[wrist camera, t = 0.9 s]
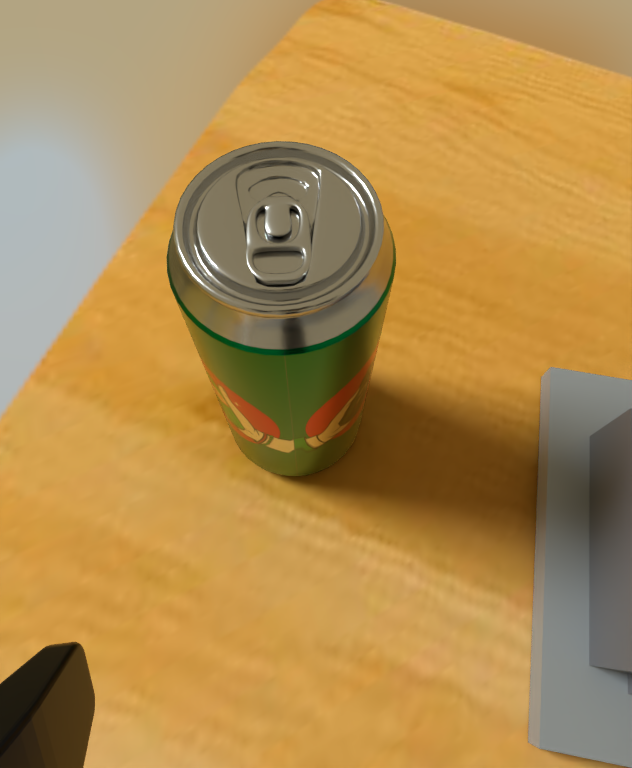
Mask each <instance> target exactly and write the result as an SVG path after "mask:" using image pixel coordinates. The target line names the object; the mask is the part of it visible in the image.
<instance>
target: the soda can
mask: <svg viewBox="0 0 632 768" xmlns="http://www.w3.org/2000/svg"><path fill="white" fill-rule="evenodd" d="M395 266H396V248H395V243H394V239H393V234H392V231H391V229H390V227H389V224H388V222H387V219H386V218H385V216H384V215H383V212H382V207H381V204H380V201H379V199H378V196H377V194H376V192H375V190H374V189H373V187H372V185H371V184H370V182H369V181H368V180H367V179H366V177H365V176H364V175H363V174H362V173H361V172H360V171H359V170H358V169H357V168H356V167H354V166H353V165H352V164H351V163H349V162H348V161H347V160H345V159H343V158H342V157H340V156H338V155H337V154H335V153H332V152H330V151H327V150H325V149H323V148H320V147H316V146H313V145H309V144H304V143H297V142H281V141H275V142H265V143H258V144H254V145H249V146H245V147H242V148H239V149H236V150H234V151H231V152H229V153H227V154H225V155H223V156H221V157H219V158H218V159H216V160H215V161H213V162H212V163H210V164H209V165H207V166H206V167H205V168H204V169H203V170H202V171H200V172H199V173H198V174H197V175H196V176H195V177H194V179H193V180H192V181H191V182H190V184H189V185H188V186H187V188H186V189H185V191H184V193H183V195H182V196H181V198H180V201H179V204H178V206H177V209H176V213H175V219H174V226H173V232H172V235H171V238H170V240H169V245H168V252H167V273H168V277H169V282H170V286H171V289H172V292H173V294H174V296H175V299H176V301H177V303H178V306H179V308H180V311H181V313H182V315H183V318H184V320H185V322H186V325H187V327H188V330H189V332H190V334H191V337H192V339H193V341H194V344H195V346H196V349H197V351H198V353H199V356H200V358H201V360H202V363H203V365H204V368H205V370H206V372H207V375H208V377H209V379H210V382H211V384H212V387H213V389H214V391H215V394H216V396H217V398H218V401H219V403H220V406H221V408H222V410H223V413H224V415H225V417H226V420H227V422H228V425H229V427H230V429H231V432H232V434H233V436H234V439H235V441H236V443H237V445H238V446H239V448H240V449H241V451H242V452H243V453H244V454H245V455H246V456H247V457H248V458H249V459H250V460H251V461H252V462H254V463H255V464H256V465H258V466H260V467H261V468H263V469H265V470H267V471H270V472H273V473H276V474H280V475H286V476H301V475H309V474H312V473H316V472H319V471H321V470H323V469H325V468H328V467H329V466H331V465H332V464H334V463H335V462H337V461H338V460H339V459H340V458H341V457H342V456H343V455H344V454H345V453H346V452H347V450H348V449H349V448H350V447H351V445H352V443H353V441H354V439H355V438H356V435H357V432H358V429H359V425H360V421H361V417H362V413H363V408H364V404H365V400H366V395H367V391H368V387H369V382H370V378H371V374H372V369H373V365H374V361H375V356H376V352H377V348H378V343H379V339H380V335H381V331H382V326H383V322H384V318H385V313H386V309H387V305H388V300H389V296H390V292H391V287H392V283H393V279H394V273H395Z"/></svg>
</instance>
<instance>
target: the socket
mask: <svg viewBox="0 0 632 768" xmlns="http://www.w3.org/2000/svg"><path fill="white" fill-rule="evenodd" d="M528 743H530V744H532V745H534V746H536V747H537V748H539V749H544V750H549V751H554V752H558V753H563V754H568V755H573V756H578V757H582V758H587V759H592V760H597V761H602V762H606V763H611V764H616V765H621V766H625V767H630V768H632V380H627V379H620V378H614V377H608V376H602V375H596V374H590V373H584V372H578V371H572V370H566V369H560V368H554V367H550V368H549V369H548V370H547V372H546V373H545V374H544V375H543V376H542V377H541V401H540V428H539V456H538V483H537V511H536V538H535V565H534V593H533V620H532V648H531V675H530V703H529V730H528Z"/></svg>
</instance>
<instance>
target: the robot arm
mask: <svg viewBox="0 0 632 768" xmlns="http://www.w3.org/2000/svg"><path fill="white" fill-rule="evenodd" d="M94 710H95V694H94V689H93V685H92V681H91V677H90V673H89V668H88V664H87V660H86V656H85V652H84V649H83V647H82V646H81V644H79V643H77V642H70V643H62V644H54V645H49V646H46V647H45V648H43V649H42V650H41V651H39V652H38V653H37V654H36V655H35V656H33V657H32V658H31V659H30V660H28V661H27V662H26V663H25V664H24V665H22V666H21V667H20V668H19V669H18V670H16V671H15V672H14V673H13V674H12V675H10V676H9V677H8V678H7V679H5V680H4V681H3V682H2V683H1V684H0V768H83V766H84V761H85V756H86V751H87V746H88V741H89V736H90V731H91V726H92V721H93V716H94Z"/></svg>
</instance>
